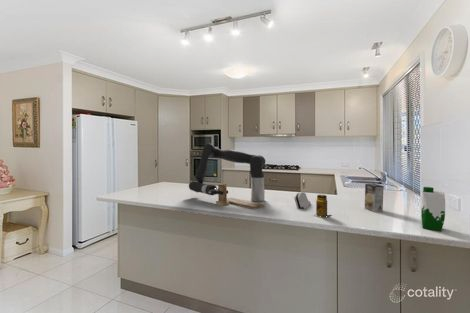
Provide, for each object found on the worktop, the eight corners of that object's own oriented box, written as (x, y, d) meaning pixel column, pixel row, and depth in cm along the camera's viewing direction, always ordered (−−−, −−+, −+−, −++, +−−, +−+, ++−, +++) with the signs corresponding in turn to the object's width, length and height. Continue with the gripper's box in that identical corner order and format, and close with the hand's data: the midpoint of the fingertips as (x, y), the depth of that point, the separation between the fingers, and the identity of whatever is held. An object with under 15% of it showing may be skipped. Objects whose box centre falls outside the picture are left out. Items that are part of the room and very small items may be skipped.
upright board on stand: (222, 202, 178) (222, 183, 177) (229, 204, 173) (229, 184, 172) (215, 204, 174) (215, 184, 173) (222, 205, 169) (222, 185, 168)
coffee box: (363, 208, 161) (364, 183, 160) (372, 208, 162) (373, 183, 161) (374, 212, 152) (374, 186, 151) (383, 211, 153) (384, 185, 152)
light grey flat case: (304, 209, 160) (299, 194, 161) (297, 210, 162) (292, 195, 164) (311, 203, 174) (306, 189, 176) (304, 205, 177) (299, 191, 178)
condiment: (313, 215, 146) (313, 195, 145) (320, 212, 152) (320, 193, 151) (325, 218, 141) (325, 197, 140) (332, 215, 146) (332, 195, 146)
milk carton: (421, 224, 130) (423, 185, 129) (444, 228, 124) (446, 187, 123) (420, 228, 123) (421, 188, 122) (443, 232, 117) (445, 190, 116)
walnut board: (231, 199, 188) (231, 197, 188) (263, 206, 168) (263, 203, 167) (221, 201, 181) (221, 199, 181) (253, 209, 160) (253, 206, 160)
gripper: (201, 185, 178) (217, 188, 166) (216, 183, 188) (232, 185, 176) (201, 196, 178) (217, 199, 166) (216, 193, 188) (232, 196, 176)
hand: (225, 192), depth 171 cm, fingers closed on upright board on stand, 4 cm apart
